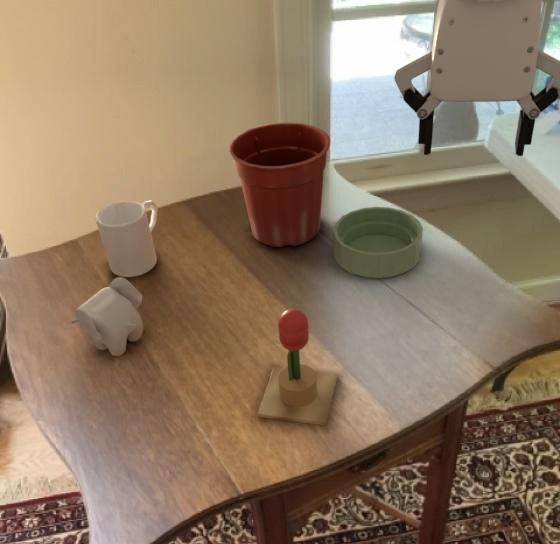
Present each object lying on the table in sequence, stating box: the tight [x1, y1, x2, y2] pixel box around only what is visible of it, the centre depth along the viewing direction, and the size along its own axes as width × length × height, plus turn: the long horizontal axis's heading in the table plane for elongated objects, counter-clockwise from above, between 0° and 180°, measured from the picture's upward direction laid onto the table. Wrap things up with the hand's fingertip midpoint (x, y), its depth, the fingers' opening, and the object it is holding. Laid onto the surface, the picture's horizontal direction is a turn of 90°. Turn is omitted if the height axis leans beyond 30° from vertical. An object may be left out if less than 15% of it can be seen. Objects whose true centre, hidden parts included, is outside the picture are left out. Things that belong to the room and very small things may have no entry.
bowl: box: [332, 206, 424, 279], centre depth 108 cm, size 14×14×5 cm
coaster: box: [257, 366, 339, 426], centre depth 87 cm, size 9×9×1 cm
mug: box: [94, 200, 159, 278], centre depth 111 cm, size 8×12×10 cm, turn 146°
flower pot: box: [228, 122, 331, 248], centre depth 112 cm, size 16×16×16 cm
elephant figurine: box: [70, 276, 144, 357], centre depth 96 cm, size 10×12×9 cm
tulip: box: [277, 308, 317, 407], centre depth 82 cm, size 5×5×14 cm
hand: (472, 149), depth 72 cm, fingers open, 9 cm apart
